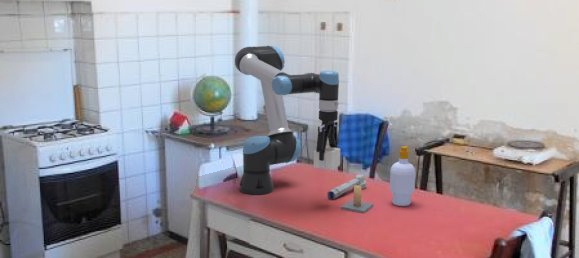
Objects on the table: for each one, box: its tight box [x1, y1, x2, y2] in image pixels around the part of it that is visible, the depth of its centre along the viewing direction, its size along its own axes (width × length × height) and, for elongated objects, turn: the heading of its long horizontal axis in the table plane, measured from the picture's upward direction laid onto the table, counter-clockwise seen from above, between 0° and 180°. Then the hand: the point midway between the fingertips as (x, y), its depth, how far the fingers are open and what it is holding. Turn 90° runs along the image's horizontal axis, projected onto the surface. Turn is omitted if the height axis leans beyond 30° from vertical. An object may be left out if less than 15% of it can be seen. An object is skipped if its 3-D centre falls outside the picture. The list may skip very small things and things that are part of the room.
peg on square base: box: [340, 185, 374, 214], centre depth 241 cm, size 10×10×9 cm
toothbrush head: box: [326, 173, 367, 200], centre depth 261 cm, size 5×7×25 cm
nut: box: [313, 146, 341, 170], centre depth 240 cm, size 8×8×7 cm
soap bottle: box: [389, 145, 416, 207], centre depth 245 cm, size 10×10×24 cm
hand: (326, 165), depth 240 cm, fingers closed on nut, 8 cm apart
